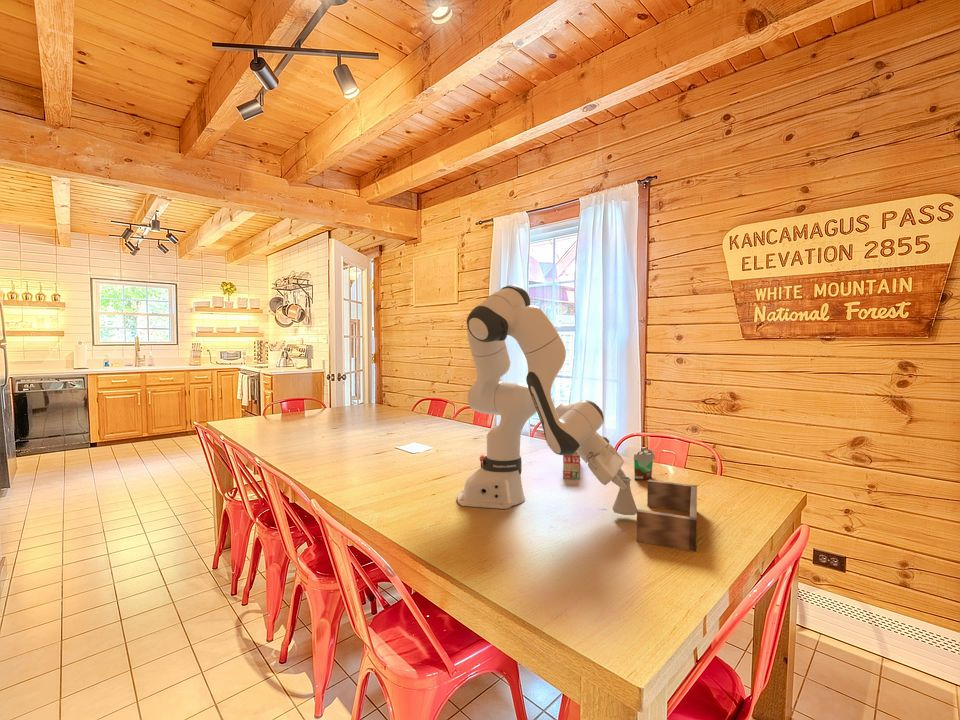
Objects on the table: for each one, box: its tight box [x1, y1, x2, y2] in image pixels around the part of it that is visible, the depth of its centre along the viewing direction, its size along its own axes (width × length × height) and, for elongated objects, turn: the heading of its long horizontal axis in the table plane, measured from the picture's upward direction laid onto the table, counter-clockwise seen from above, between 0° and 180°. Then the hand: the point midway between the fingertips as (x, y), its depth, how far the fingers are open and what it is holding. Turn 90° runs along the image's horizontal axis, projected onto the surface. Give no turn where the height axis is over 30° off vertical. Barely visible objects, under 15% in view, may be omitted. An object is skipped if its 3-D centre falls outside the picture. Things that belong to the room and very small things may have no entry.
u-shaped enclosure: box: [636, 479, 698, 552], centre depth 128 cm, size 14×29×8 cm, turn 154°
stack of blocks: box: [562, 451, 581, 480], centre depth 182 cm, size 21×6×12 cm, turn 167°
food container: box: [633, 447, 656, 482], centre depth 172 cm, size 12×6×10 cm, turn 148°
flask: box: [612, 475, 638, 516], centre depth 133 cm, size 7×7×10 cm
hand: (626, 485), depth 132 cm, fingers closed on flask, 3 cm apart
